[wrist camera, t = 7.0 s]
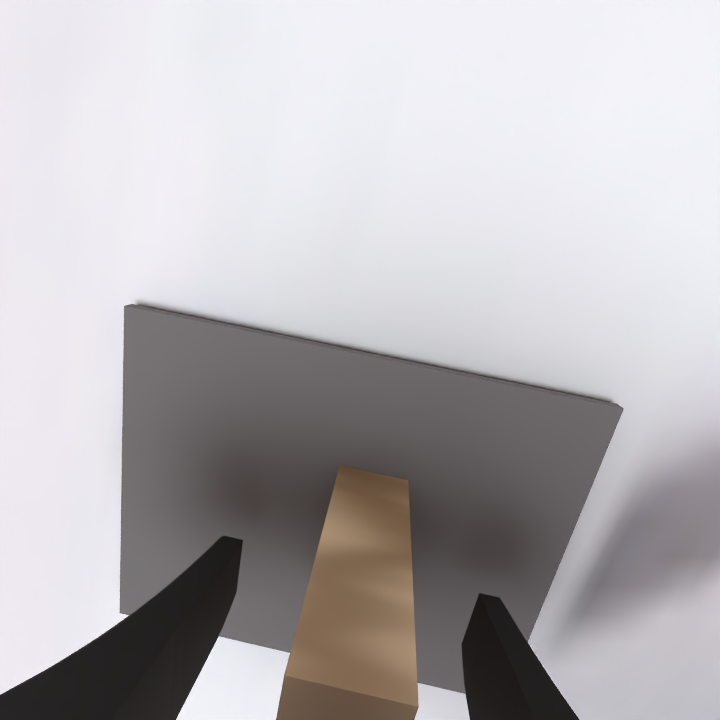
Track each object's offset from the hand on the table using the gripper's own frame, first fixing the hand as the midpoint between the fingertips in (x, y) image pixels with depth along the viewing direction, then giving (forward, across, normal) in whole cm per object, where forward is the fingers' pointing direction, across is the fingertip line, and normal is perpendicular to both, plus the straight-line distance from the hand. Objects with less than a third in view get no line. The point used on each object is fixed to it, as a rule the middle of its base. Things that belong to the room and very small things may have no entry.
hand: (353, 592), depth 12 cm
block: (+3, 0, 0) cm, 3 cm away
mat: (+3, +1, 0) cm, 3 cm away
